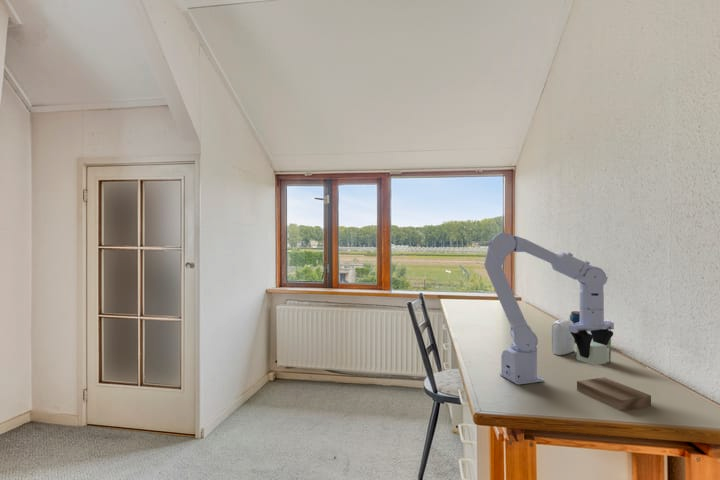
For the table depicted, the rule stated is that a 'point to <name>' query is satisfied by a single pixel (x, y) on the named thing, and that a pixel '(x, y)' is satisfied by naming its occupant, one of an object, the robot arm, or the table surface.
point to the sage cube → (595, 354)
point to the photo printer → (562, 337)
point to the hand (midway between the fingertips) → (591, 356)
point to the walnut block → (614, 393)
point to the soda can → (575, 318)
